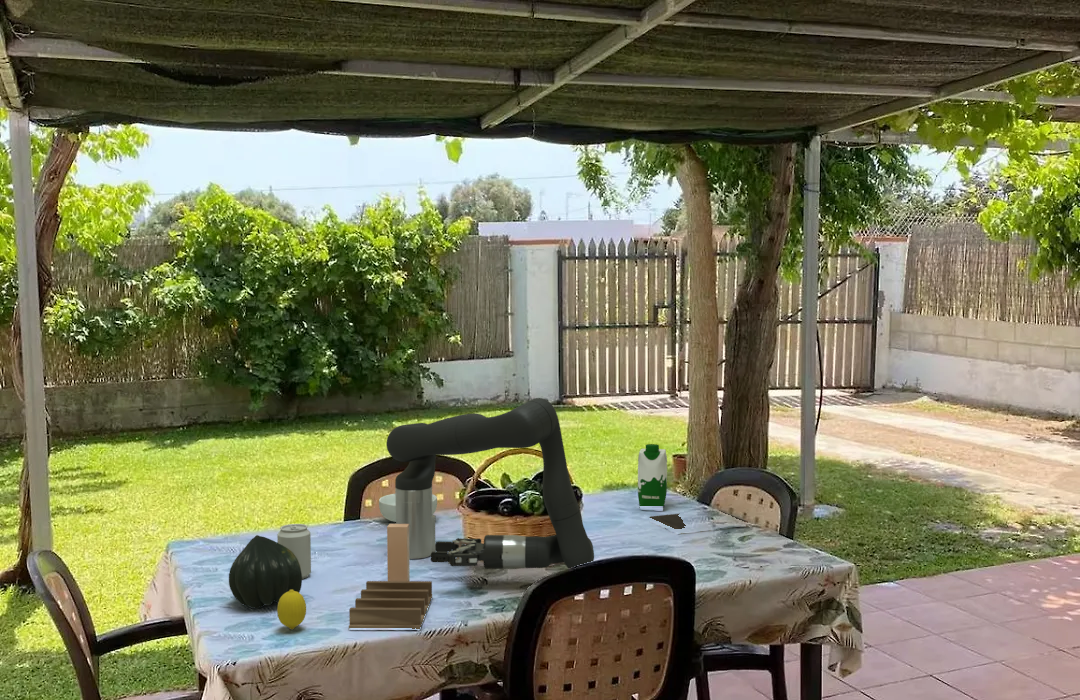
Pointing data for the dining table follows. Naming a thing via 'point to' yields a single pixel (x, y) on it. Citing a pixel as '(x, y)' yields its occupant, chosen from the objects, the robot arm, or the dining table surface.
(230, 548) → the dining table surface
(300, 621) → the lemon
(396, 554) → the clay bar
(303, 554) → the can
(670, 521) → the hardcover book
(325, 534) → the dining table surface
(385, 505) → the cereal bowl
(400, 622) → the drying rack
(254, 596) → the squash
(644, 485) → the milk carton
